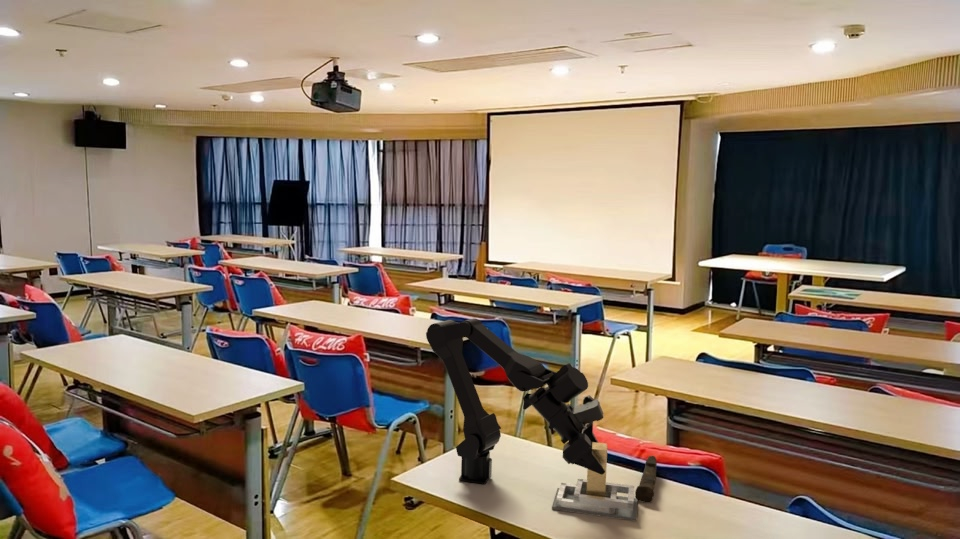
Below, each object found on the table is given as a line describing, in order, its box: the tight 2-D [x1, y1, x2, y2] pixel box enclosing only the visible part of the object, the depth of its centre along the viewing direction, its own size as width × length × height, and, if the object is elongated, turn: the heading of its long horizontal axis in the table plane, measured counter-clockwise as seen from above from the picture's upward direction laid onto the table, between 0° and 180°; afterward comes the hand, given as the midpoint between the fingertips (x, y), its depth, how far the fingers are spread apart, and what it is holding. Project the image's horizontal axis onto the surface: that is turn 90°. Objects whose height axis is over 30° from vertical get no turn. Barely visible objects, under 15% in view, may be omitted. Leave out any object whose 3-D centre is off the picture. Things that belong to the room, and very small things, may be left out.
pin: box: [586, 442, 608, 497], centre depth 147 cm, size 4×4×13 cm
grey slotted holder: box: [556, 478, 635, 515], centre depth 147 cm, size 16×9×3 cm, turn 76°
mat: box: [551, 487, 638, 522], centre depth 147 cm, size 18×10×1 cm, turn 76°
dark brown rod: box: [634, 455, 658, 503], centre depth 158 cm, size 19×4×5 cm, turn 158°
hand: (603, 464), depth 146 cm, fingers open, 9 cm apart
